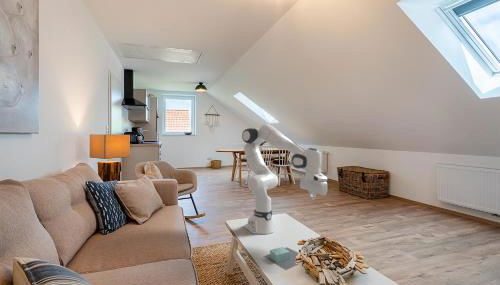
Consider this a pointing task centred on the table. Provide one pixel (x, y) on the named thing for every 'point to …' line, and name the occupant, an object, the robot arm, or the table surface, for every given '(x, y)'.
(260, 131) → the robot arm
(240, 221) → the table surface
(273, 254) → the box
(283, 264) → the mat
